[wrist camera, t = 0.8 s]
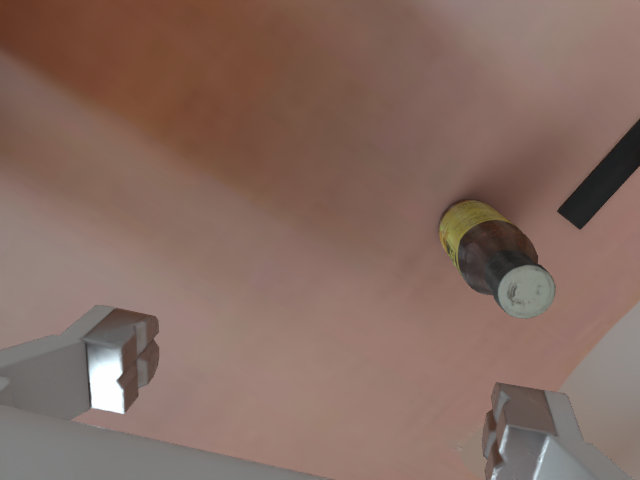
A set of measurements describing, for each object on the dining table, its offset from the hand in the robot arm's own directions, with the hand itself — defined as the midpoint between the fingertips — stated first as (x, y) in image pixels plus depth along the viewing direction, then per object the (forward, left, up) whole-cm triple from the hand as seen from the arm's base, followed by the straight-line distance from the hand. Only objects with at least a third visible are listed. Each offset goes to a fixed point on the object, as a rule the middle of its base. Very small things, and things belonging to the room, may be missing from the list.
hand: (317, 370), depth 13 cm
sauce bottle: (+6, +12, -46) cm, 48 cm away
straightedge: (-4, +28, -46) cm, 54 cm away
